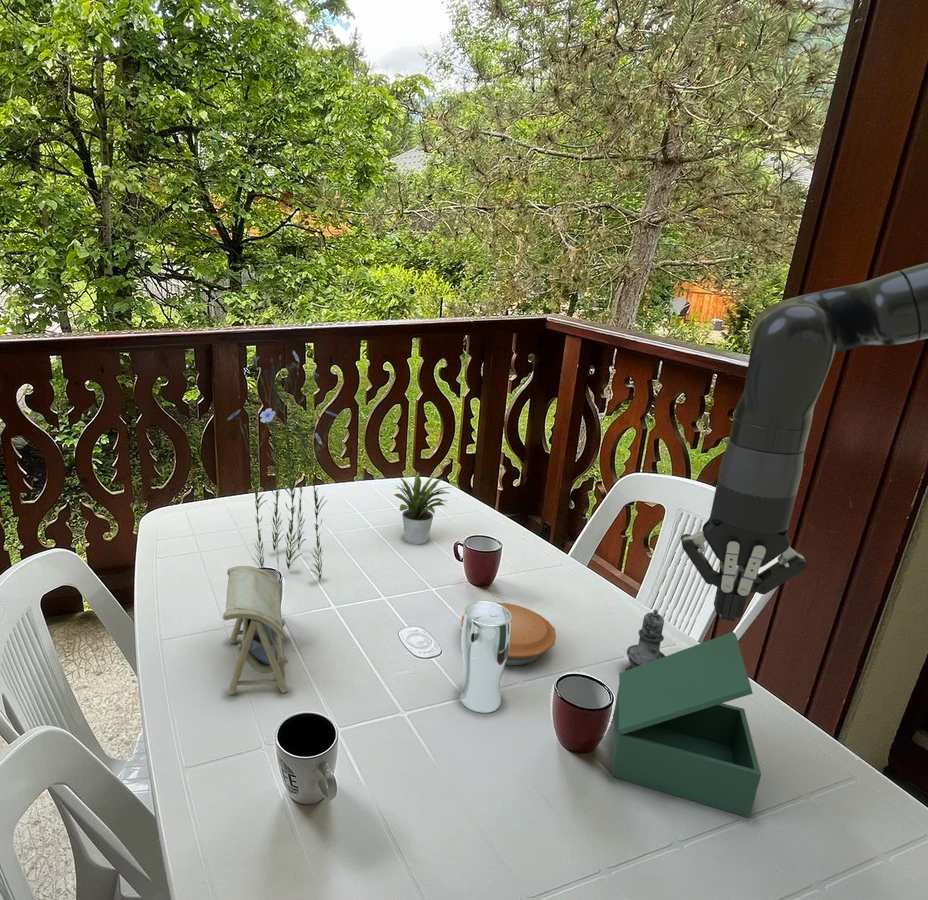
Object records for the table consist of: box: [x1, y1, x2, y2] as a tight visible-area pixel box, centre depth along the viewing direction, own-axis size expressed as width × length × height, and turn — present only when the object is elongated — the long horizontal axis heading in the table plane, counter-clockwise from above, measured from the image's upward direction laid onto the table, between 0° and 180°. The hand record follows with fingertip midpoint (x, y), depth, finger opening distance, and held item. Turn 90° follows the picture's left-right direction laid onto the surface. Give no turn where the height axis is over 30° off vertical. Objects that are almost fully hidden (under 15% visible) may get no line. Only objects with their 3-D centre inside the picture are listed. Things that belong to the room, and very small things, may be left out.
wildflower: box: [226, 350, 340, 582], centre depth 128 cm, size 22×23×45 cm
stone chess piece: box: [624, 608, 666, 671], centre depth 100 cm, size 6×6×12 cm
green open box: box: [611, 687, 762, 819], centre depth 83 cm, size 15×12×7 cm
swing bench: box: [222, 565, 289, 696], centre depth 101 cm, size 15×10×15 cm, turn 6°
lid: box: [618, 631, 754, 734], centre depth 81 cm, size 16×12×1 cm
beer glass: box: [459, 600, 512, 714], centre depth 94 cm, size 7×7×15 cm
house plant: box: [393, 471, 453, 545], centre depth 144 cm, size 14×14×16 cm
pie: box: [461, 602, 557, 666], centre depth 108 cm, size 16×16×5 cm
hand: (726, 616), depth 77 cm, fingers closed
